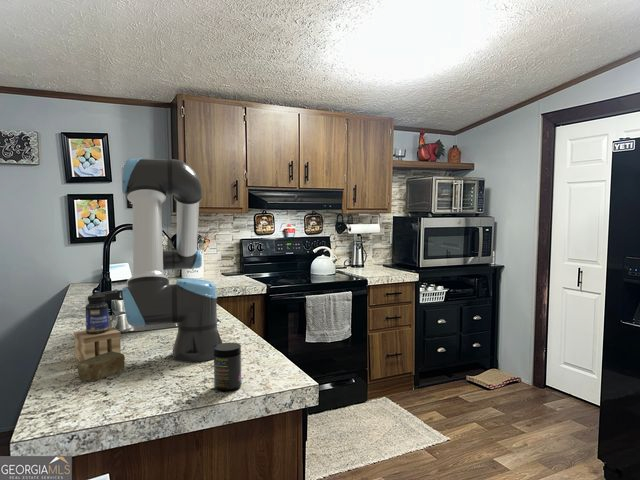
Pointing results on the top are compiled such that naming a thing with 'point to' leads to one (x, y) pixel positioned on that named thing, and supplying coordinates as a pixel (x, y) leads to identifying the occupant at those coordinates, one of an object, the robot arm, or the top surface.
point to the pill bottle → (96, 315)
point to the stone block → (101, 366)
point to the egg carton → (112, 321)
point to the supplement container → (227, 366)
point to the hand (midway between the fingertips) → (107, 302)
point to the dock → (96, 343)
